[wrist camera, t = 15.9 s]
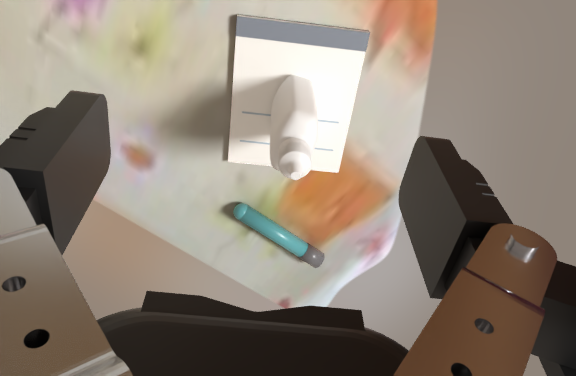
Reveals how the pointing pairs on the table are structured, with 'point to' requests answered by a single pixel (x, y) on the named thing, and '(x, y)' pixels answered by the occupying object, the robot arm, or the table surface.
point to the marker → (278, 235)
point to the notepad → (278, 67)
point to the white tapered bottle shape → (293, 127)
